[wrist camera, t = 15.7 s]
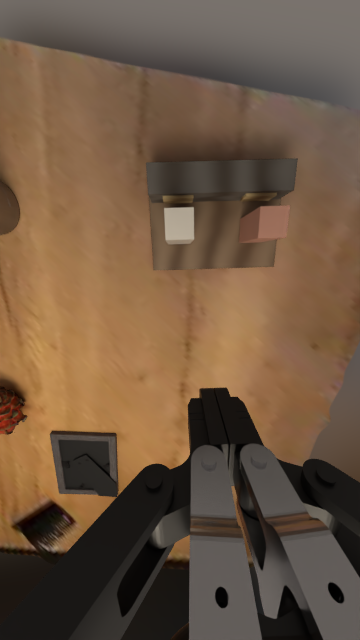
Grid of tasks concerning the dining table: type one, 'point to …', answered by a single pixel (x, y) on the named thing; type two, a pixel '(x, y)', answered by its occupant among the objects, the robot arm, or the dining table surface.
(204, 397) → the robot arm
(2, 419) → the dragon fruit
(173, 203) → the switch board
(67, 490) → the picture frame
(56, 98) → the dining table surface
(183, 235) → the cream key
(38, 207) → the dining table surface
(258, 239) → the brick key
